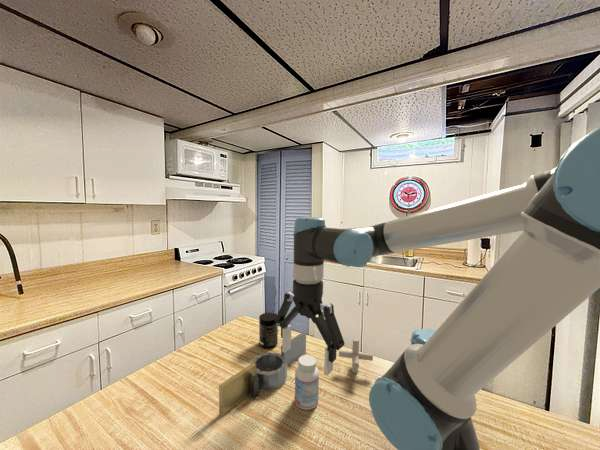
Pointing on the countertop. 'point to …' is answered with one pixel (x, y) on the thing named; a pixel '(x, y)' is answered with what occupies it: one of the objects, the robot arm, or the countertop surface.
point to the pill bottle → (306, 383)
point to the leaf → (235, 388)
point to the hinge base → (275, 366)
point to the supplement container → (268, 330)
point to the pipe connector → (355, 355)
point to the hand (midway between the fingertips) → (306, 360)
